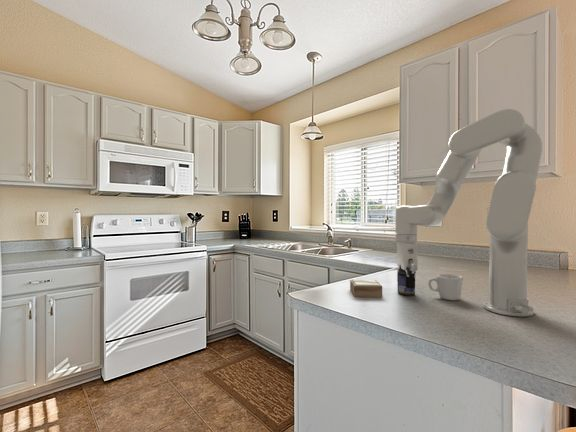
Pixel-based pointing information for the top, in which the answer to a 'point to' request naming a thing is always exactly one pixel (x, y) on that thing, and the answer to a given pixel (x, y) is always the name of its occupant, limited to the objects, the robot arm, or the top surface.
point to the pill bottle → (404, 284)
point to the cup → (448, 286)
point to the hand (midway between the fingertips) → (405, 284)
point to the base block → (365, 288)
